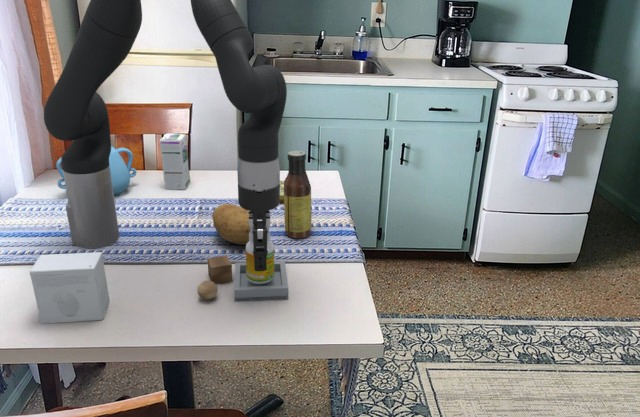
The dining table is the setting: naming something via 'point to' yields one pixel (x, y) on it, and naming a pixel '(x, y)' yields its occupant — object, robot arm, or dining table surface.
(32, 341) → the dining table surface
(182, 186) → the syrup box
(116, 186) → the decorative pot
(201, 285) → the cork ball
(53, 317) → the skincare box
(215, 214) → the potato
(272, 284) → the tray
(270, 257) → the supplement bottle
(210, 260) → the walnut block
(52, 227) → the dining table surface
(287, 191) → the sauce bottle
